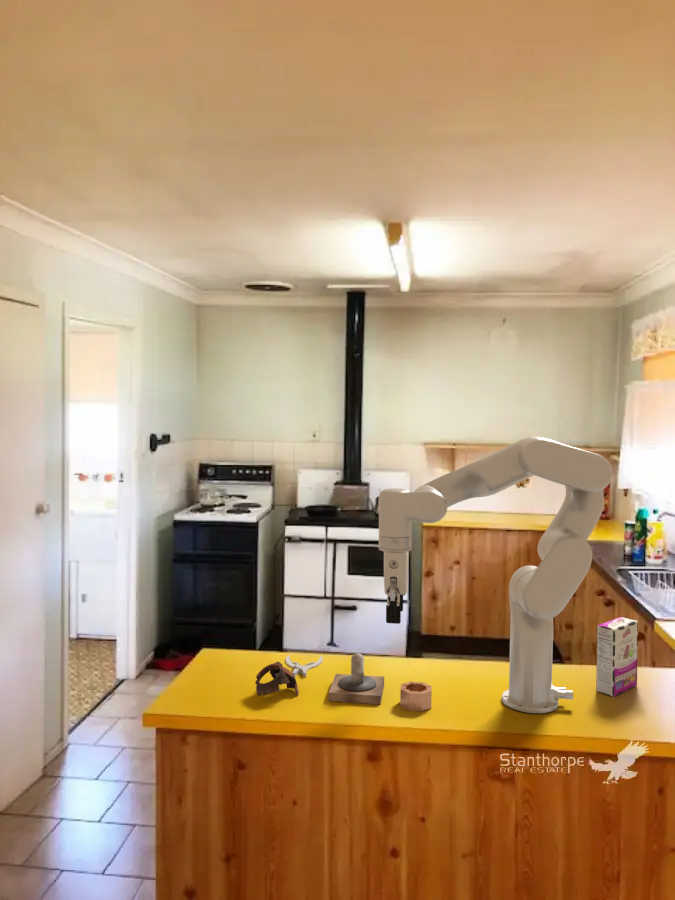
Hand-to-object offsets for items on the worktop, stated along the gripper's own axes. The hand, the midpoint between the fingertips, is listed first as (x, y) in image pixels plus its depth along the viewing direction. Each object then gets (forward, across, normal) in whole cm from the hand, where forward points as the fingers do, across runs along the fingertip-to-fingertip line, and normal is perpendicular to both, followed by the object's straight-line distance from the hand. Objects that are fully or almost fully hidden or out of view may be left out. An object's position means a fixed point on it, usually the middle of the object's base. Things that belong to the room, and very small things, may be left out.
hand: (394, 616), depth 166 cm
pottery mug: (+20, 0, +28) cm, 34 cm away
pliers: (+20, +18, +25) cm, 37 cm away
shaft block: (+20, +4, +9) cm, 22 cm away
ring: (+20, -1, -5) cm, 20 cm away
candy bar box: (+20, +16, -53) cm, 59 cm away
